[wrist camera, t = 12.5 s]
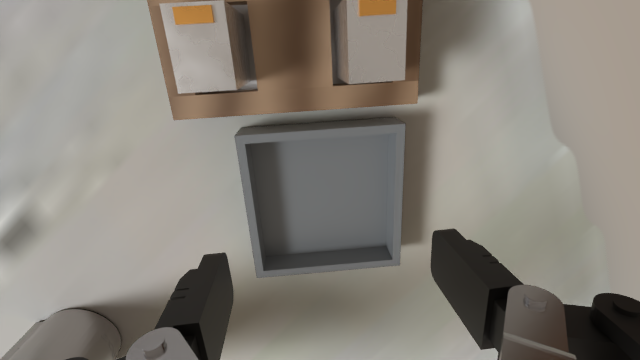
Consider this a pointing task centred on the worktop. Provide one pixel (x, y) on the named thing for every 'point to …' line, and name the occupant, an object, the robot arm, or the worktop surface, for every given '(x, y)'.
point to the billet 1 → (206, 46)
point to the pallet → (290, 63)
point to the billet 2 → (370, 40)
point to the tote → (323, 194)
